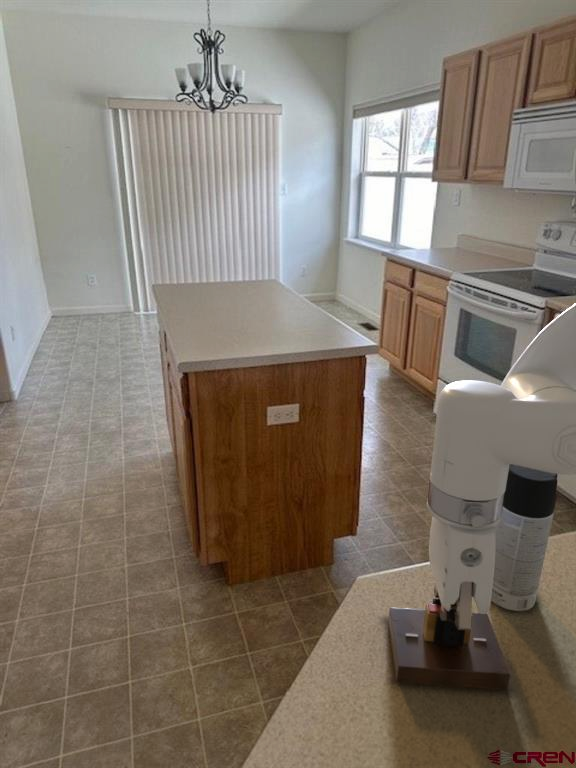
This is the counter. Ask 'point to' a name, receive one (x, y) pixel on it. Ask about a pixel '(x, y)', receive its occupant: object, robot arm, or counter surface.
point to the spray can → (523, 536)
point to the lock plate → (446, 654)
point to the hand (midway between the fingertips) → (445, 635)
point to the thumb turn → (431, 622)
